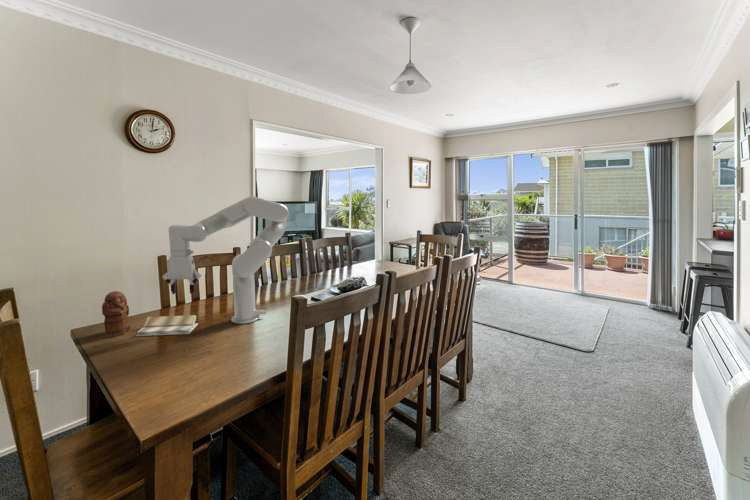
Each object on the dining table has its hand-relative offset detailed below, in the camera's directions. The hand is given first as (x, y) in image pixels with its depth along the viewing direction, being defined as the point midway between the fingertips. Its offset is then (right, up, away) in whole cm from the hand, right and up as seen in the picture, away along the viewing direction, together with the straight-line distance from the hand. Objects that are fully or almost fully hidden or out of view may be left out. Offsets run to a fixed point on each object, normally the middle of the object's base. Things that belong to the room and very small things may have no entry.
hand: (183, 292), depth 160 cm
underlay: (-6, -16, -2) cm, 17 cm away
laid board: (-5, -16, -5) cm, 18 cm away
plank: (-6, -14, +1) cm, 15 cm away
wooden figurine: (-25, -17, -5) cm, 30 cm away
